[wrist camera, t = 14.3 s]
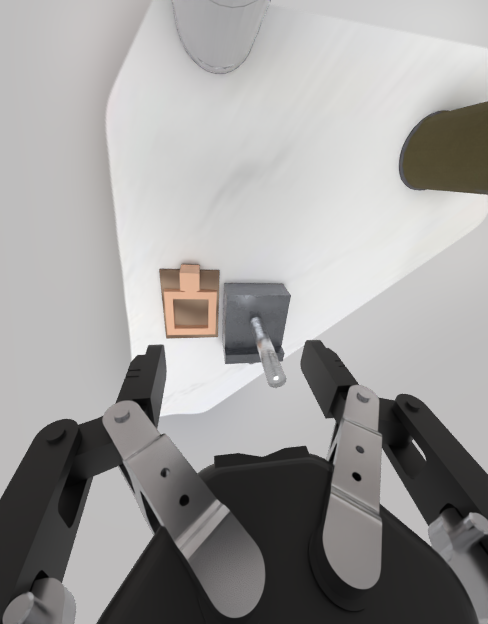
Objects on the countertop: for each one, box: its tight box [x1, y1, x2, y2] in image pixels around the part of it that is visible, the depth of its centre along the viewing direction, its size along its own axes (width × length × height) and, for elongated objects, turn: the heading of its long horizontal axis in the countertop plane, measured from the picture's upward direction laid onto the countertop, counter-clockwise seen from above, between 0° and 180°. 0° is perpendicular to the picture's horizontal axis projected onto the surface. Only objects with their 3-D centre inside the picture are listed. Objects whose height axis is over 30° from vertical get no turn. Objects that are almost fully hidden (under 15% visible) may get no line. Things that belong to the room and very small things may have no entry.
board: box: [159, 269, 219, 338], centre depth 45 cm, size 14×10×1 cm
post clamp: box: [222, 283, 291, 388], centre depth 40 cm, size 15×11×19 cm
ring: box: [164, 264, 217, 335], centre depth 42 cm, size 14×9×4 cm, turn 175°
